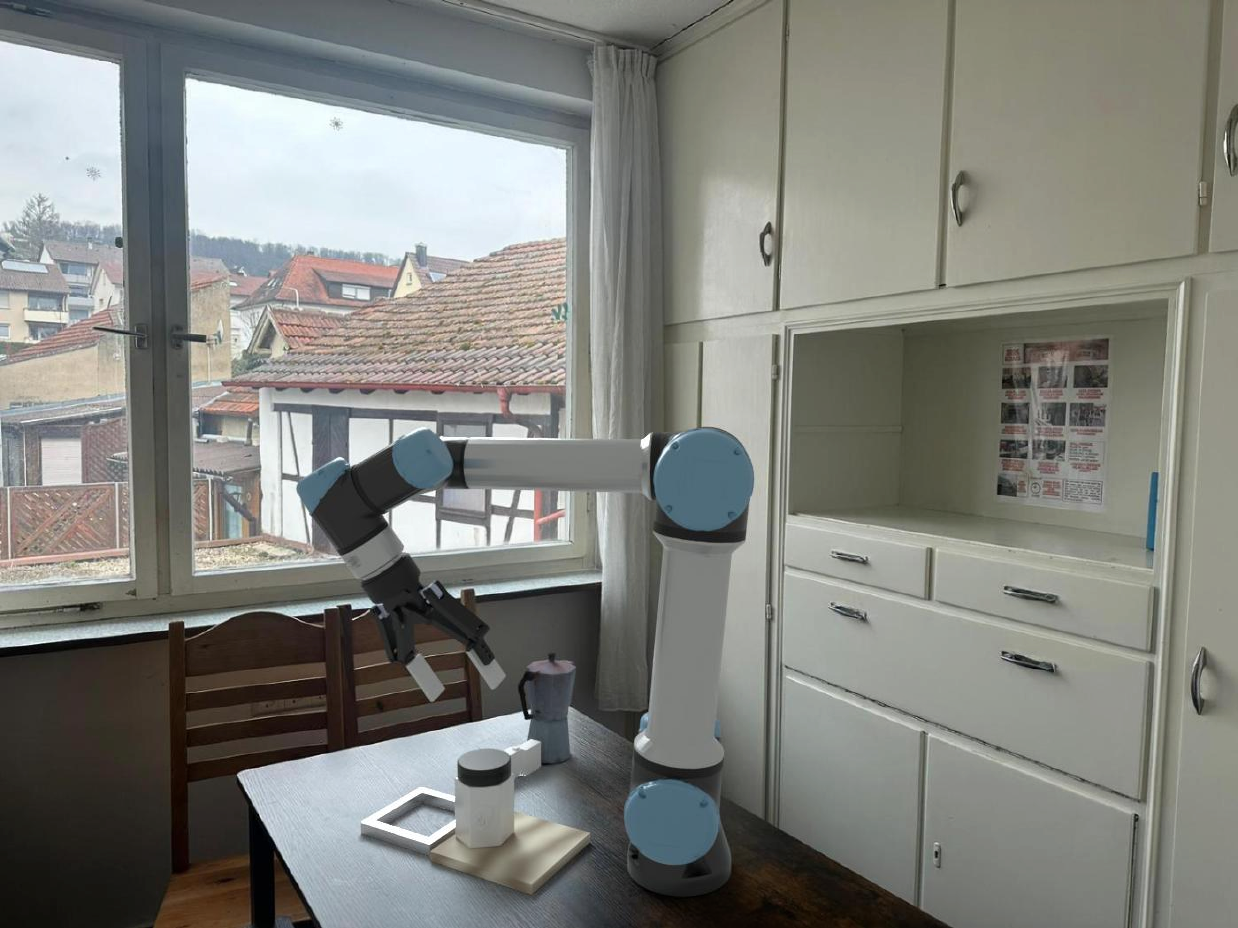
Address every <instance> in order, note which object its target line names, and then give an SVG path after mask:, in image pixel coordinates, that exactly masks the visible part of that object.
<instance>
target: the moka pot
mask: <svg viewBox="0 0 1238 928" xmlns="http://www.w3.org/2000/svg"><path fill="white" fill-rule="evenodd" d="M547 656H548V659H546V660H538V661H532V662H531V663H530V664H529V665H527V667H526V670H525V672H524V673H523V676H522V678H521V679H520V681H519V683H518V685H517V691H518V694H519V698H520V702H521V703H520V705H521V708H522V709H521V710H522V714H523V717H524V718H523V719H524V720H525V721H528V720H529V721H530V723H529V728H528V733H527V738H526V742H527V741H528V740H530V739H533V740H537V741H541V764H555V763H562V762H564V761H566V760H569V758H570V757H571V745H570V734H569V733H570V731H569V721H568V720H569V719H568V715H569V708H570V706H571V703H572V696H573V691H574V690H573V689H574V685H575V677H576V671H577V666H575V662H574V661H569V660H556V657H557V654H556V653H555V652H551V651H550V652H548V653H547ZM526 683H527V693H528V705H529V706H530V713H529V710H528V707H527V700H526V699H527V698H526V691H525V688H524V687H525V685H526Z"/></svg>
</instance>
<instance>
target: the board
mask: <svg viewBox="0 0 1238 928" xmlns="http://www.w3.org/2000/svg"><path fill="white" fill-rule="evenodd" d="M590 843H591V832H588V831H585V830H582V829H578V828H574V827H571V826H567V825H564V824H560V823H557V822H554V821H549V820H546V819H543V818H539V817H535V816H532V815H529V814H525V813H521V812H517V811H515V810H514V833H513V834H512V835H511V836H510V837H509V838H508V839H507V840H506V841H505V842H504V843H503V844H502V845H501V846H496V847H483V848H469V847H468V846H467V845H465V844H464V843H463V842H462V841H460V840H459V839H458V838H457V837H456V836H455V835H453V836H452V837H450V838H449V839H447V840H446V841H444V842H443V843H442V844H440V845H439V846H437V847H436V848H434V849H433V850H431V851H430V856H429V857H430V862H433V863H435V864H438V865H441V864H442V866H444V867H447V868H450V869H453V870H457V871H459V872H462V873H466V874H468V875H470V876H471V875H472V876H474V877H477V878H481V879H482V880H483V879H484V880H486V881H489V882H491V883H492V882H493V883H494V884H498V885H501V886H504V887H507V888H510V889H513V890H515V891H519V892H520V893H521V892H522V893H525V894H528V895H531V896H532V895H534V893H536V891H538V890H539V889H540V888H541V887H542V886H543V885H545V884H546V882H548V881H549V880H551V878H552V877H553V876H555V874H557V873H558V872H559V871H560V870H561V869H562V868H564V866H566V865H567V864H568V863H569V862H570V861H571V860H572V859H573V858H574V857H575V856H577V855H578V854H579V853H580V852H581V851H582V850H583V849H585V848H586V847H587V846H588V845H589V844H590Z"/></svg>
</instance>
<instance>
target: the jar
mask: <svg viewBox="0 0 1238 928" xmlns="http://www.w3.org/2000/svg"><path fill="white" fill-rule="evenodd" d="M454 796H455V812H454V820H455V836H456V837H457V838H458V839H459V840H460V841H462V842H463V843H464V844H465V845H467V846H468V847H469V848H483V847H496V846H501V845H502V844H503V843H504V842H505V841H506V840H507V839H508V838H509V837H510V836H511V835H512V834H513V833H514V811H515V779H514V774H513V773H512V772H511V757H510V755H509V754H508V753H506V752H504V751H503V750H501V749H497V748H479V749H473V750H470V751H467V752H465V753H463V754H461V755H460V756H459V758H458V759H457V776H455V777H454Z"/></svg>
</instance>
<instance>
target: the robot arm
mask: <svg viewBox="0 0 1238 928" xmlns="http://www.w3.org/2000/svg"><path fill="white" fill-rule="evenodd" d="M754 487H755V471H754V466H753V463H752V460H751V457H750V455H749V453H748V452H747V450H746V448H745V446H744V445H743V443H742V442H741V441H740V440H739V439H738V438H737V437H736V436H734V435H733V434H731V432H729V431H727V430H724V429H722V428H719V427H714V426H700V427H699V426H698V427H695V428H692V429H686V430H679V431H666V432H665V431H664V432H663V431H662V432H650V433H649V434H647V436H645V437H644V438H642V439H641V438H640V439H639V438H638V439H637V438H635V439H633V438H628V439H627V438H620V439H619V438H562V437H561V438H557V437H556V438H552V437H551V438H547V437H544V438H543V437H537V438H536V437H533V438H532V437H521V438H520V437H462V436H461V437H457V436H456V437H453V436H450V435H438V434H437V433H436V432H435V431H433V430H431V429H430V428H428V427H419V428H417V429H415V430H413V431H411V432H410V433H407V434H403V435H401V436H399V437H398V438H397V439H396V440H394V441H393V442H391V443H389V444H388V445H387V446H385V447H384V448H382V449H380V450H379V451H377V452H375V453H373V454H372V455H370V456H369V457H367V458H365V459H364V460H362V461H359V462H357V463H355V464H353V465H351V464H350V463H348V462H347V460H346V459H345V458H343V457H340V456H339V457H337V458H334V459H333V460H331V461H329V462H327V463H326V464H323V465H322V466H320V467H319V468H317V469H316V470H314V471H313V472H311V473H309V474H308V475H306V476H305V477H303V478H302V479H300V480H299V481H298V482H297V484H296V487H295V489H296V493H297V495H298V497H299V499H300V500H301V501H302V503H303V505H304V506H305V508H306V510H307V511H308V514H309V516H310V517H311V518H312V519H314V521H315V523H316V524H317V525H318V527H320V528H319V529H320V530H321V531H322V532H323V534H324V535H325V536H326V538H327V539H328V541H329V542H330V543H331V545H332V546H333V547H334V549H335V551H336V552H337V554H338V555H339V556H340V557H341V559H342V561H343V562H344V563H345V565H346V567H347V568H348V569H349V570H350V572H351V573H352V575H353V577H354V578H355V579H358V580H360V584H359V586H360V587H361V588H362V591H364V593H365V595H366V596H367V597H368V598H369V600H370V601H371V603H372V604H373V605H372V606H371V607H370V608H369V612H370V615H371V616H372V617H373V619H374V620H375V622H376V625H377V628H378V631H379V635H380V638H381V640H382V641H381V642H382V644H383V647H384V650H385V653H386V657H387V660H388V662H389V663H390V664H392V665H395V664H396V663H398V664H399V665H400V666H404V667H405V668H406V670H407V672H408V673H409V674H410V676H411V677H412V679H413V680H414V681H415V682H416V683H417V685H418V686H419V687H420V689H421V691H422V692H423V693H424V695H425V696H426V698H427V699H428V700H429V702H435V700H437V699H438V697H439V696H440V695H441V694H442V693H443V692H444V691H445V690H446V688H445V686H444V685H443V684H442V682H441V681H440V680H439V679H440V678H439V677H438V676H437V675H436V674H435V672H434V670H433V669H432V668H431V666H430V664H429V663H428V662H427V661H426V659H425V658H424V656H423V655H422V653H418V652H419V649H417V648H416V644H415V643H416V641H415V640H416V639H415V627H414V626H415V625H421V624H423V625H424V626H433V627H434V628H436V629H437V630H440V631H441V632H443V633H444V634H446V635H447V636H448V637H451V638H452V639H454V640H456V641H457V642H458V643H461V644H462V645H464V646H465V654H466V655H467V656H468V657H469V659H470V660H471V662H472V663H473V665H474V666H475V668H476V669H477V671H478V672H479V674H480V675H481V676H482V678H483V679H484V681H485V682H486V683H487V686H488V687H489V688H490V690H491V691H492V690H495V689H496V688H498V686H499V685H500V684H501V683H502V681H504V679H505V678H506V677H507V675H506V673H505V672H504V670H503V669H502V667H501V665H500V664H499V663H498V661H497V660H496V656H495V654H494V653H493V651H492V650H491V649H490V647H489V645H488V644H487V643H486V640H485V639H484V637H485V636H486V635H487V634H488V632H490V626H489V625H488V624H487V623H486V622H484V621H483V620H482V619H481V618H480V617H478V616H477V615H476V614H475V613H473V612H472V610H470V609H469V608H467V607H466V606H465V605H464V604H463V603H462V602H460V601H459V599H456V597H454V596H453V595H452V594H451V593H450V592H448V590H447V589H446V588H445V586H443V585H444V584H442V583H441V582H440V580H438V579H435V580H433V581H432V582H431V583H430V584H428V586H426V587H425V586H424V585H423V584H422V583H421V582H420V576H421V573H422V572H421V570H420V568H419V566H418V565H417V563H416V562H415V561H414V559H413V558H412V556H411V555H410V553H408V552H403V551H404V549H405V548H404V547H405V545H404V543H403V542H402V540H401V539H400V538H399V536H398V535H397V534H396V532H395V531H394V530H393V527H392V526H391V525H390V523H388V521H387V519H386V517H384V515H385V514H387V513H389V512H390V511H392V510H394V509H395V508H398V507H399V506H401V505H403V504H404V503H406V502H408V501H410V500H412V499H414V498H415V497H416V498H417V497H418V496H422V495H424V494H428V493H432V492H435V491H437V490H495V491H496V490H497V491H498V490H501V491H502V490H505V491H539V492H540V491H541V492H542V491H545V492H578V493H579V492H581V493H582V492H585V493H586V492H587V493H588V492H589V493H622V494H623V493H626V494H628V493H629V494H633V493H634V494H643V495H644V496H645V497H646V498H647V499H648V500H649V501H655V505H654V515H653V525H652V527H653V528H652V533H653V535H654V536H655V537H656V539H657V540H658V541H659V542H660V544H661V545H662V547H663V550H662V561H661V570H660V571H661V572H660V573H661V574H660V582H659V593H658V604H657V614H656V625H655V626H656V627H655V638H654V647H653V648H654V649H653V658H652V659H653V660H652V671H651V682H650V692H649V702H648V703H649V704H648V712H646V713H644V714H643V715H642V716H641V719H640V723H639V729H638V734H637V735H636V736H635V738H634V740H633V741H634V742H633V750H632V761H631V768H630V769H631V770H630V781H629V790H628V796H627V799H626V801H625V803H624V808H623V819H624V826H625V827H624V828H625V831H626V834H627V836H628V839H629V845H628V849H627V855H626V856H627V860H626V861H627V862H626V863H627V864H626V868H627V872H628V874H629V877H631V879H632V880H633V881H634V882H635V883H637V885H639V886H641V887H642V888H644V889H645V890H648V891H651V892H653V893H656V894H659V895H663V896H669V897H684V898H685V897H696V896H701V895H706V894H709V893H711V892H714V891H716V890H718V889H720V888H721V887H723V886H724V885H725V884H726V883H727V882H728V880H729V879H730V878H731V873H732V855H731V854H732V853H731V849H730V845H729V843H728V840H727V837H726V834H725V831H724V828H723V824H722V821H721V815H720V812H721V811H720V803H721V791H722V782H723V770H724V762H725V761H724V760H725V749H724V747H723V745H722V744H721V742H722V740H721V739H722V738H723V734H722V733H721V732H722V731H721V723H720V720H719V719H718V717H717V710H718V699H719V690H720V689H719V688H720V680H721V671H722V670H721V669H722V659H723V658H722V657H723V650H724V648H723V647H724V637H725V629H726V619H727V618H726V617H727V608H728V596H729V587H730V577H731V567H732V566H731V565H732V557H733V556H732V555H733V553H734V552H735V551H736V550H737V549H739V548H740V547H741V546H743V545H744V544H745V543H746V540H747V539H746V538H747V529H748V520H749V519H748V518H749V513H750V512H749V510H750V501H751V497H752V496H753V493H754ZM417 653H418V654H417Z"/></svg>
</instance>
